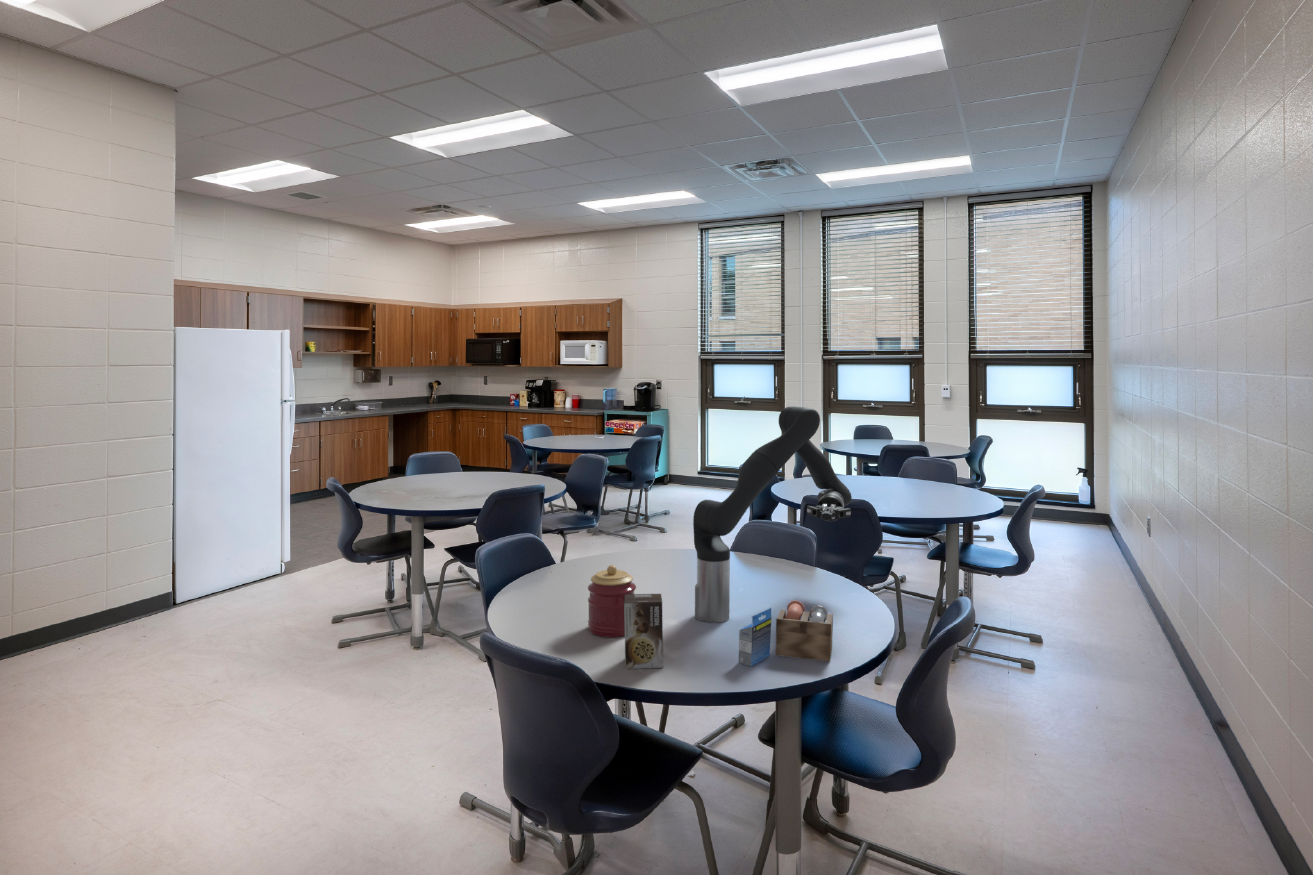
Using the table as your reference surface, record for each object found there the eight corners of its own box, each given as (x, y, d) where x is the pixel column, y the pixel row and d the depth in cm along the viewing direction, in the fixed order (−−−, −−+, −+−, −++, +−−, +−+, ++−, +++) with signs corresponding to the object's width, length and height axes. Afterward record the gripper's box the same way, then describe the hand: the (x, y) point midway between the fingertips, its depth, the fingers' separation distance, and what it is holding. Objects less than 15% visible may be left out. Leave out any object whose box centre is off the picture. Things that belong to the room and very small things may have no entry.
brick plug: (782, 628, 178) (783, 611, 178) (787, 616, 187) (787, 599, 187) (800, 630, 177) (801, 612, 177) (804, 617, 186) (804, 601, 186)
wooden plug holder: (775, 655, 176) (776, 618, 176) (780, 642, 184) (780, 607, 184) (830, 661, 173) (831, 624, 172) (832, 648, 181) (832, 612, 180)
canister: (629, 640, 186) (629, 573, 185) (581, 636, 189) (581, 570, 187) (641, 622, 199) (640, 560, 197) (595, 619, 202) (595, 557, 200)
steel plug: (806, 634, 174) (807, 616, 174) (810, 621, 184) (810, 604, 183) (825, 636, 173) (825, 618, 173) (827, 622, 182) (828, 605, 182)
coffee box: (662, 657, 175) (662, 593, 173) (663, 668, 168) (663, 601, 167) (624, 658, 175) (624, 593, 173) (624, 669, 168) (624, 601, 167)
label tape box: (757, 651, 179) (757, 603, 177) (771, 656, 176) (772, 607, 175) (737, 663, 172) (738, 612, 171) (752, 667, 169) (753, 616, 168)
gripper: (808, 492, 218) (802, 502, 202) (853, 495, 214) (851, 505, 198) (807, 517, 219) (801, 528, 202) (853, 520, 215) (850, 532, 198)
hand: (826, 516), depth 200 cm, fingers closed
